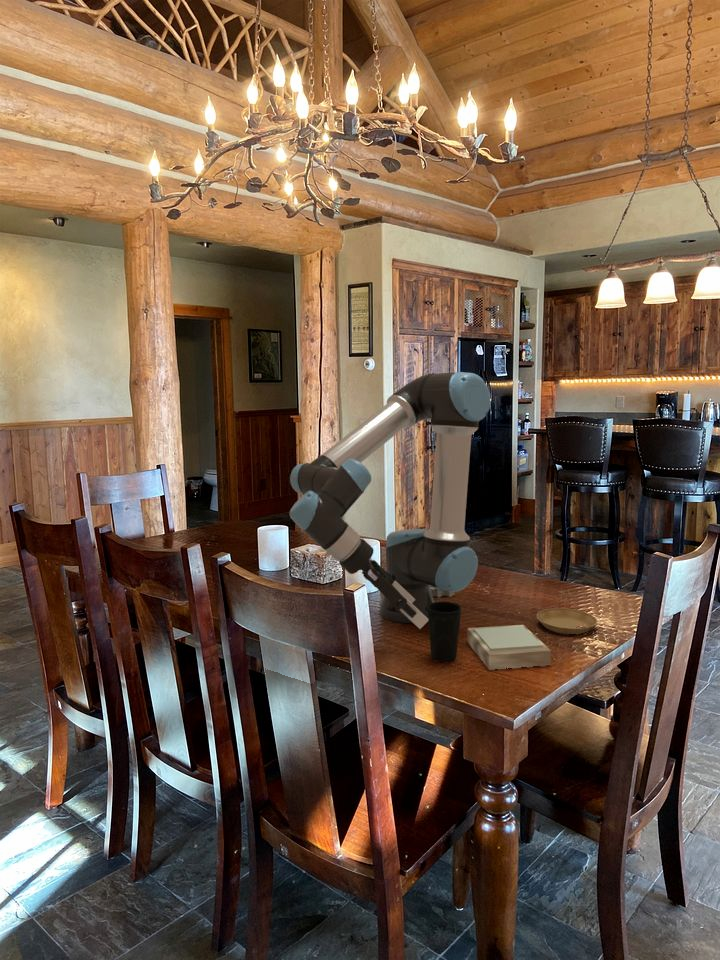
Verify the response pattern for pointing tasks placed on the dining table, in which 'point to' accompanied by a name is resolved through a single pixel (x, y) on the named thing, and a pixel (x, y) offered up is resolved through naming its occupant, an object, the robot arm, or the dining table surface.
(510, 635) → the stand
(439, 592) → the egg carton
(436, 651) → the cup
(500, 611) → the dining table surface
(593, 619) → the plant saucer
